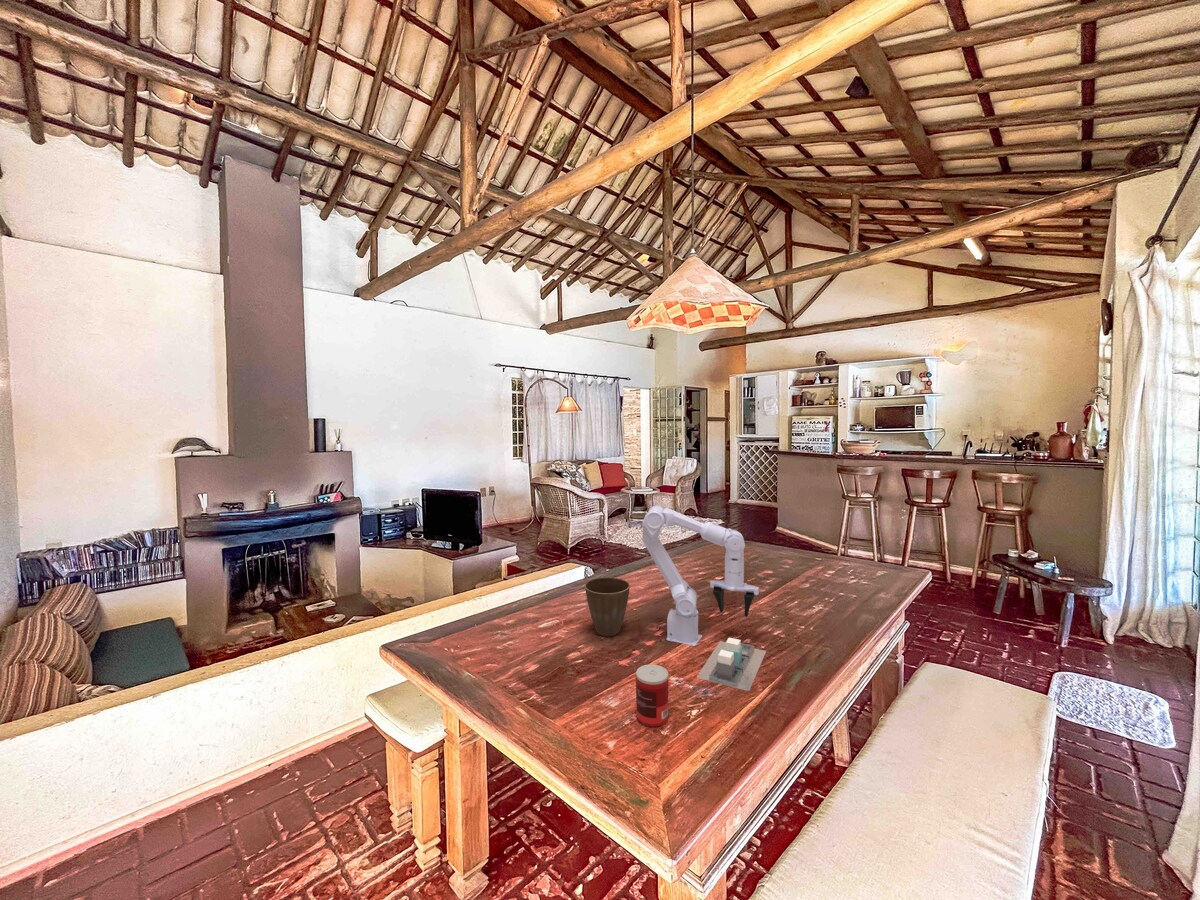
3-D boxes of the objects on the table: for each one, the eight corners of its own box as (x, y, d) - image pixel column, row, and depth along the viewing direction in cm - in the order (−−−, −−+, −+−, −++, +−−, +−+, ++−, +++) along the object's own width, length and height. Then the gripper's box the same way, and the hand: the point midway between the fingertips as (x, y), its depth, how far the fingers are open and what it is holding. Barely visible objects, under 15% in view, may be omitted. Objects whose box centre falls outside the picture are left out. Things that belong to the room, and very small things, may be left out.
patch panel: (696, 678, 130) (696, 673, 130) (720, 642, 151) (720, 637, 151) (748, 692, 123) (748, 687, 123) (766, 652, 144) (766, 647, 144)
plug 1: (724, 664, 136) (724, 642, 136) (728, 658, 140) (728, 636, 139) (738, 668, 134) (738, 645, 134) (741, 661, 138) (742, 639, 137)
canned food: (665, 706, 118) (665, 663, 117) (671, 727, 110) (671, 681, 109) (634, 707, 118) (634, 664, 117) (638, 728, 110) (637, 682, 109)
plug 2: (716, 678, 129) (716, 655, 129) (720, 671, 133) (720, 648, 132) (731, 682, 127) (731, 658, 127) (735, 675, 131) (735, 652, 130)
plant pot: (626, 644, 150) (626, 594, 149) (580, 640, 153) (580, 591, 152) (632, 624, 165) (632, 578, 164) (590, 620, 168) (590, 576, 167)
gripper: (707, 570, 148) (707, 613, 149) (755, 577, 141) (755, 622, 142) (713, 564, 154) (713, 605, 155) (760, 571, 147) (759, 614, 148)
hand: (733, 613), depth 149 cm, fingers open, 7 cm apart
